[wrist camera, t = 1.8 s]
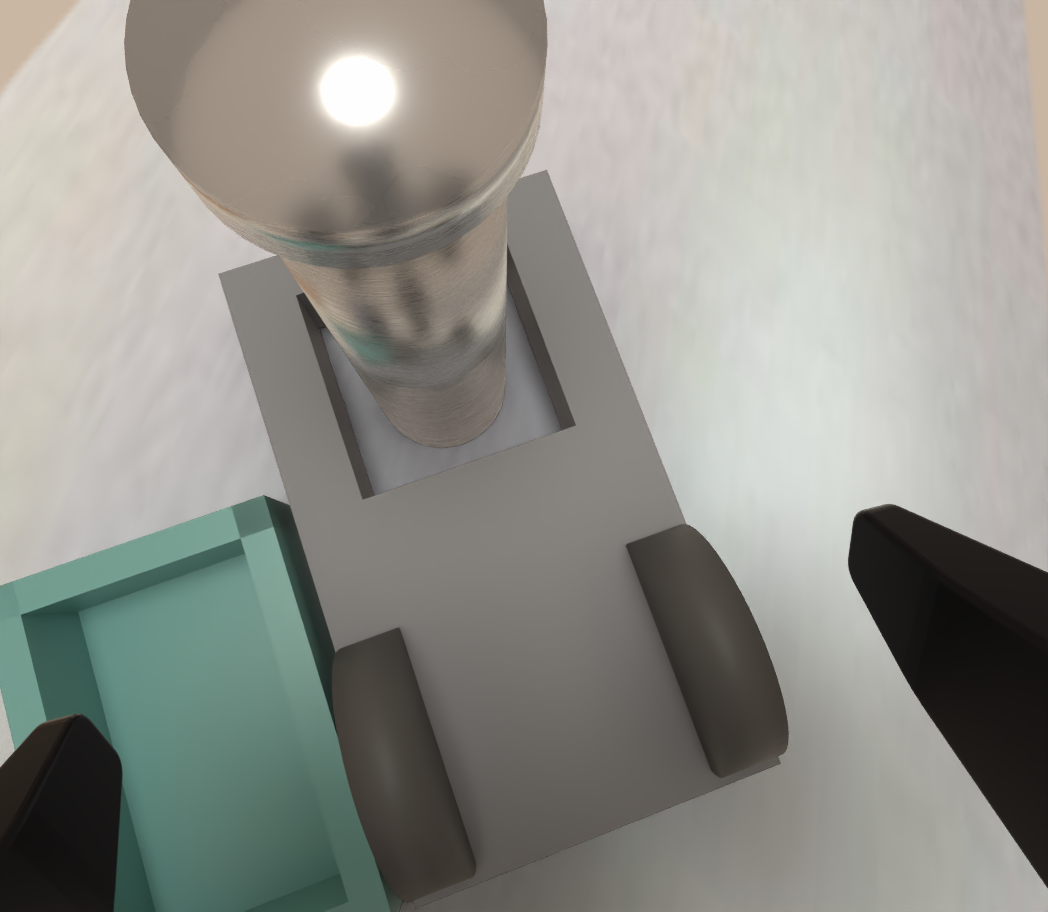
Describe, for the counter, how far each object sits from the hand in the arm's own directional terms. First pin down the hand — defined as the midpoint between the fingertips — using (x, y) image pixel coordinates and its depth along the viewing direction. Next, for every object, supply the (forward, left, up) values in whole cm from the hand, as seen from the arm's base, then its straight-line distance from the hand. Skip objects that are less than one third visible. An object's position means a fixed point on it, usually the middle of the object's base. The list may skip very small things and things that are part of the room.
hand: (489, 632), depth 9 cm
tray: (-1, +8, -12) cm, 14 cm away
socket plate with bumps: (+2, -1, -12) cm, 12 cm away
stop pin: (+6, -1, -12) cm, 14 cm away
